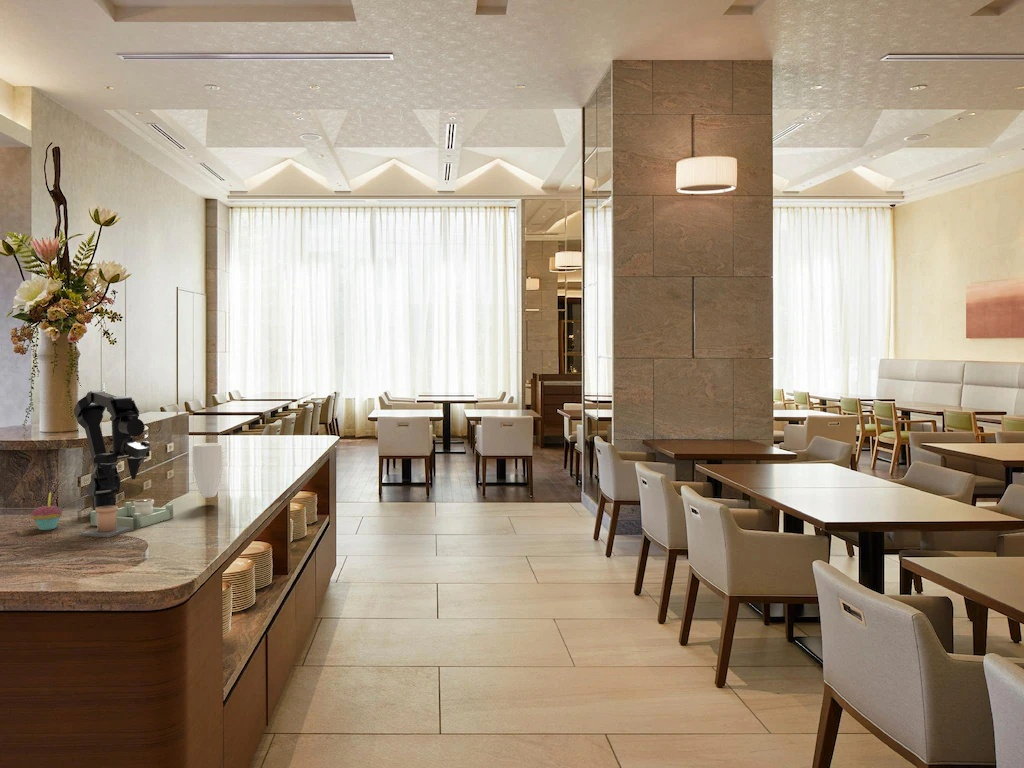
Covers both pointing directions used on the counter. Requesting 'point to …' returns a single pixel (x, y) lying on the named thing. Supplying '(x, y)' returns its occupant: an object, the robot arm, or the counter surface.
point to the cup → (208, 467)
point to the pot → (144, 506)
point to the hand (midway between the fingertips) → (123, 481)
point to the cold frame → (137, 516)
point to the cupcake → (46, 516)
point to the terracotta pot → (106, 518)
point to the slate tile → (106, 534)
